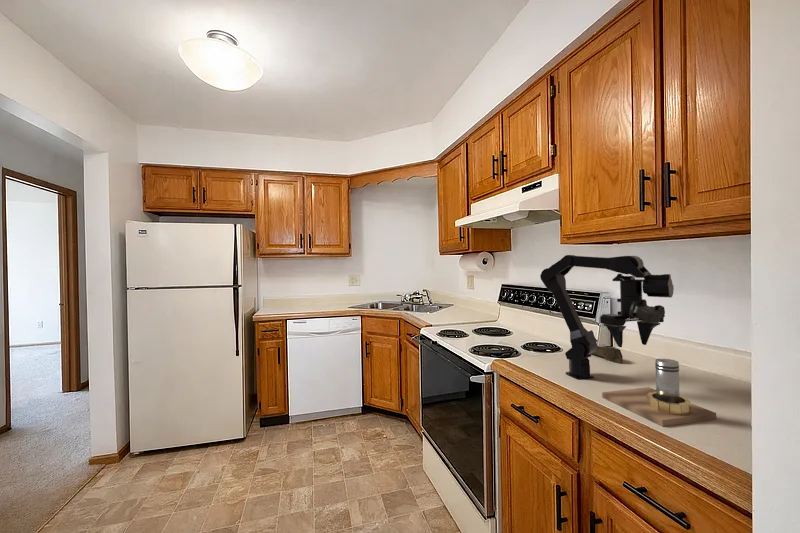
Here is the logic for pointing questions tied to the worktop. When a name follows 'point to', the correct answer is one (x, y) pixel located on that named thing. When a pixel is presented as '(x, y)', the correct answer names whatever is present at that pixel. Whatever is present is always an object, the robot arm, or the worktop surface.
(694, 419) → the walnut board
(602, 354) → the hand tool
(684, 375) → the worktop surface
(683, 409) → the brass ring collar
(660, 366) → the piston
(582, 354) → the robot arm
